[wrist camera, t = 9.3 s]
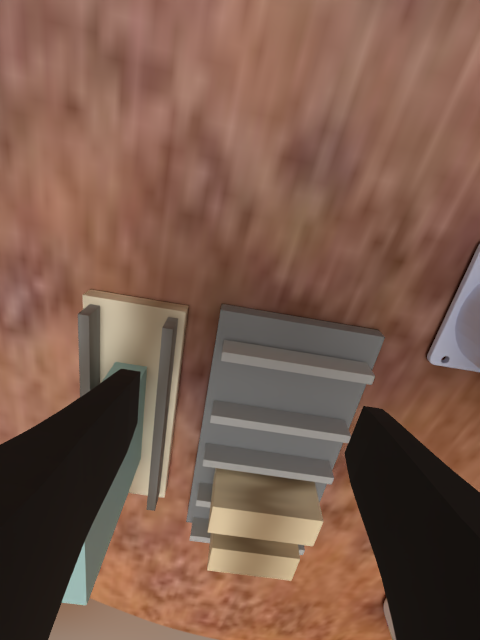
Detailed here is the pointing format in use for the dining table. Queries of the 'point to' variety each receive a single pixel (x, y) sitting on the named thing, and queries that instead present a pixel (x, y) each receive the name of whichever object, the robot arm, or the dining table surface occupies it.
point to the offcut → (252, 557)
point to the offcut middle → (264, 507)
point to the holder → (144, 350)
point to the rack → (279, 400)
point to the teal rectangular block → (107, 507)
